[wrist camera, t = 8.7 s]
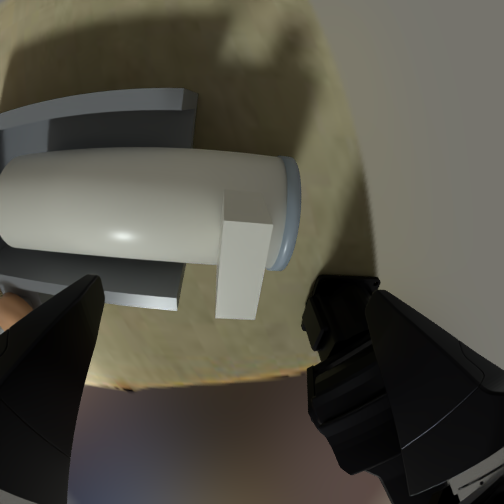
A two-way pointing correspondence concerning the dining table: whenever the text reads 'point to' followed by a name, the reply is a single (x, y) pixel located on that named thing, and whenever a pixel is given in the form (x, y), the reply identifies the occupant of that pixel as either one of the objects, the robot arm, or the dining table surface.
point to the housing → (96, 136)
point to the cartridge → (160, 210)
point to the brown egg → (13, 309)
